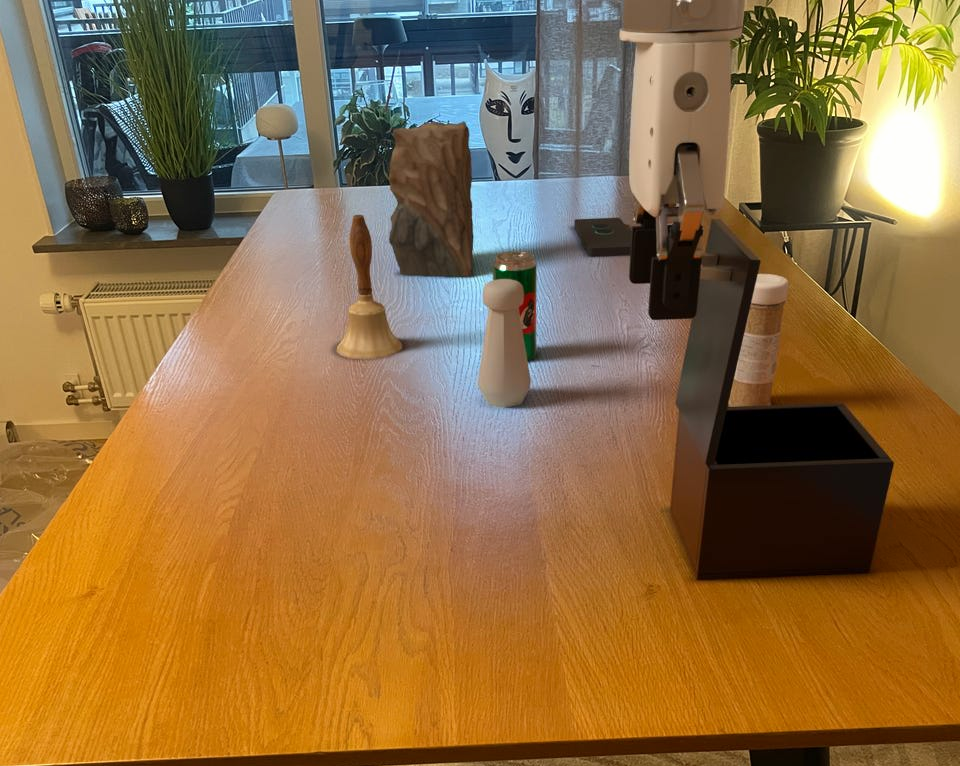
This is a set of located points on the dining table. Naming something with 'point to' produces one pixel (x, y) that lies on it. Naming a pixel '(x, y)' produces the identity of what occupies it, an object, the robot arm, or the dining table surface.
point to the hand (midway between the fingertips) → (660, 298)
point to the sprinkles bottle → (760, 343)
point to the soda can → (524, 272)
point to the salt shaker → (503, 346)
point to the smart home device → (604, 236)
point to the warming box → (781, 494)
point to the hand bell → (366, 306)
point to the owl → (432, 200)
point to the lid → (716, 336)
